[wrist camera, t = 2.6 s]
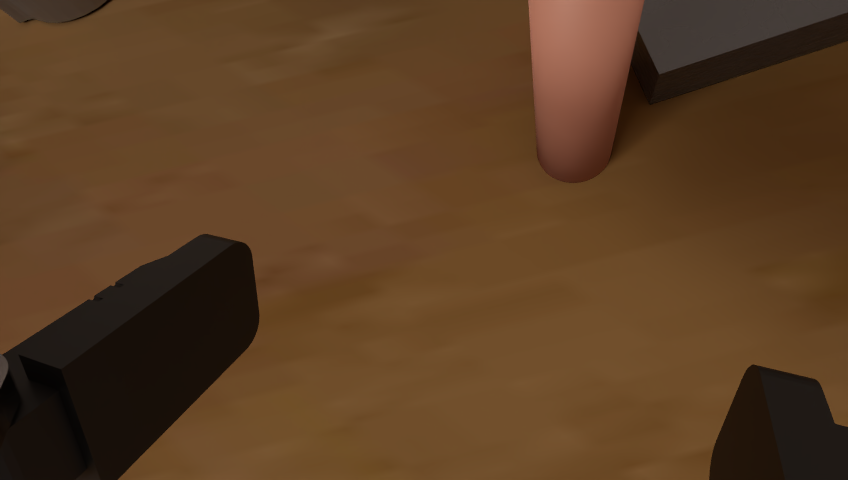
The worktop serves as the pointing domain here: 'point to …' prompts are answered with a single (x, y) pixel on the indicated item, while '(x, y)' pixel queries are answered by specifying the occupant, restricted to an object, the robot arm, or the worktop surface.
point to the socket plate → (727, 39)
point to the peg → (580, 80)
